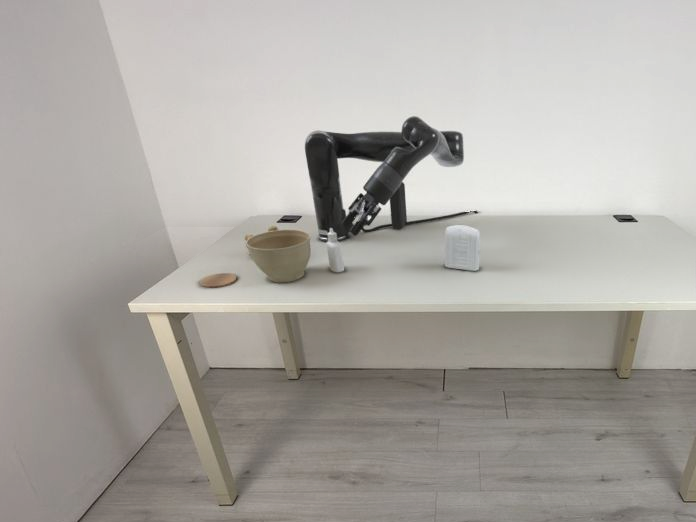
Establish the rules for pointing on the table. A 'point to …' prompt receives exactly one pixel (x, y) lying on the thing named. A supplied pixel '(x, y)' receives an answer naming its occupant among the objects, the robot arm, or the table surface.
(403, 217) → the card reader
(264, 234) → the planter bowl
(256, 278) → the table surface
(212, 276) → the cork coaster
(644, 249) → the table surface
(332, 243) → the eye dropper bottle
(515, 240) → the table surface
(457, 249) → the white arched tombstone
